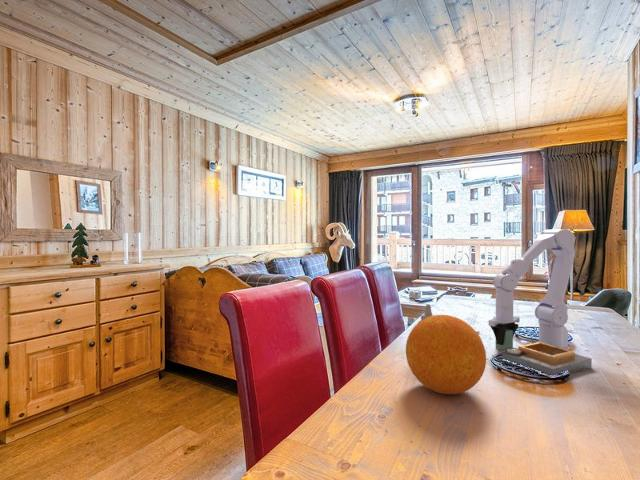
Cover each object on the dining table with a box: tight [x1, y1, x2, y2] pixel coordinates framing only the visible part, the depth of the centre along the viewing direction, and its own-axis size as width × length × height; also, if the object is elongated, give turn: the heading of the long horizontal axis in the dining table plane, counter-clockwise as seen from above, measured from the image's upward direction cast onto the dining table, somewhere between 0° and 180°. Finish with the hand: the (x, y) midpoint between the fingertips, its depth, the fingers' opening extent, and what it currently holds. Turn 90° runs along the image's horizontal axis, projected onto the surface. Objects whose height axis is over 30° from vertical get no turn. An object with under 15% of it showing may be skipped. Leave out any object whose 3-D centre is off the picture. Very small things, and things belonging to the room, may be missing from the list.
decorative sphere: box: [405, 314, 487, 395], centre depth 90 cm, size 20×20×20 cm
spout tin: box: [495, 329, 514, 352], centre depth 124 cm, size 4×4×8 cm
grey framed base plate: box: [501, 341, 593, 375], centre depth 109 cm, size 20×16×5 cm
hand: (504, 343), depth 125 cm, fingers closed on spout tin, 4 cm apart
